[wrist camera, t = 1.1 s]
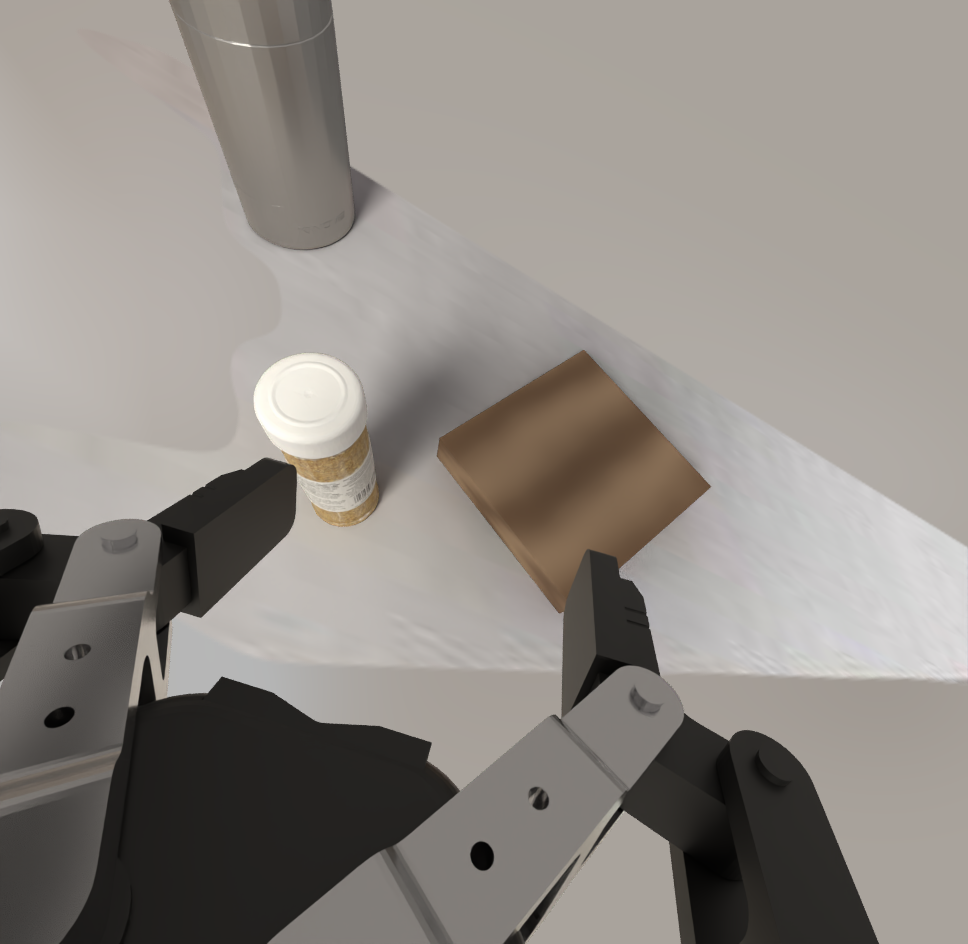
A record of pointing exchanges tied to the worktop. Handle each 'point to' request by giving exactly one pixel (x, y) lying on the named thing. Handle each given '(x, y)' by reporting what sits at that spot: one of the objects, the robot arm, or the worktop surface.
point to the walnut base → (569, 473)
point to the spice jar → (321, 433)
